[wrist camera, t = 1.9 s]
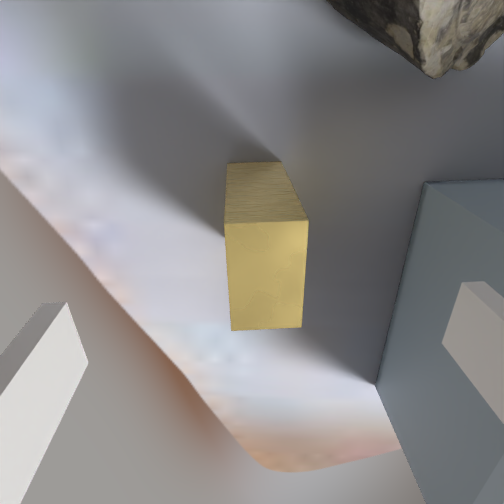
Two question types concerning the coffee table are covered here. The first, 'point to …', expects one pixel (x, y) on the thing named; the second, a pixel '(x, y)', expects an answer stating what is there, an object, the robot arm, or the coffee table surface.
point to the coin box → (436, 355)
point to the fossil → (430, 29)
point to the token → (264, 247)
